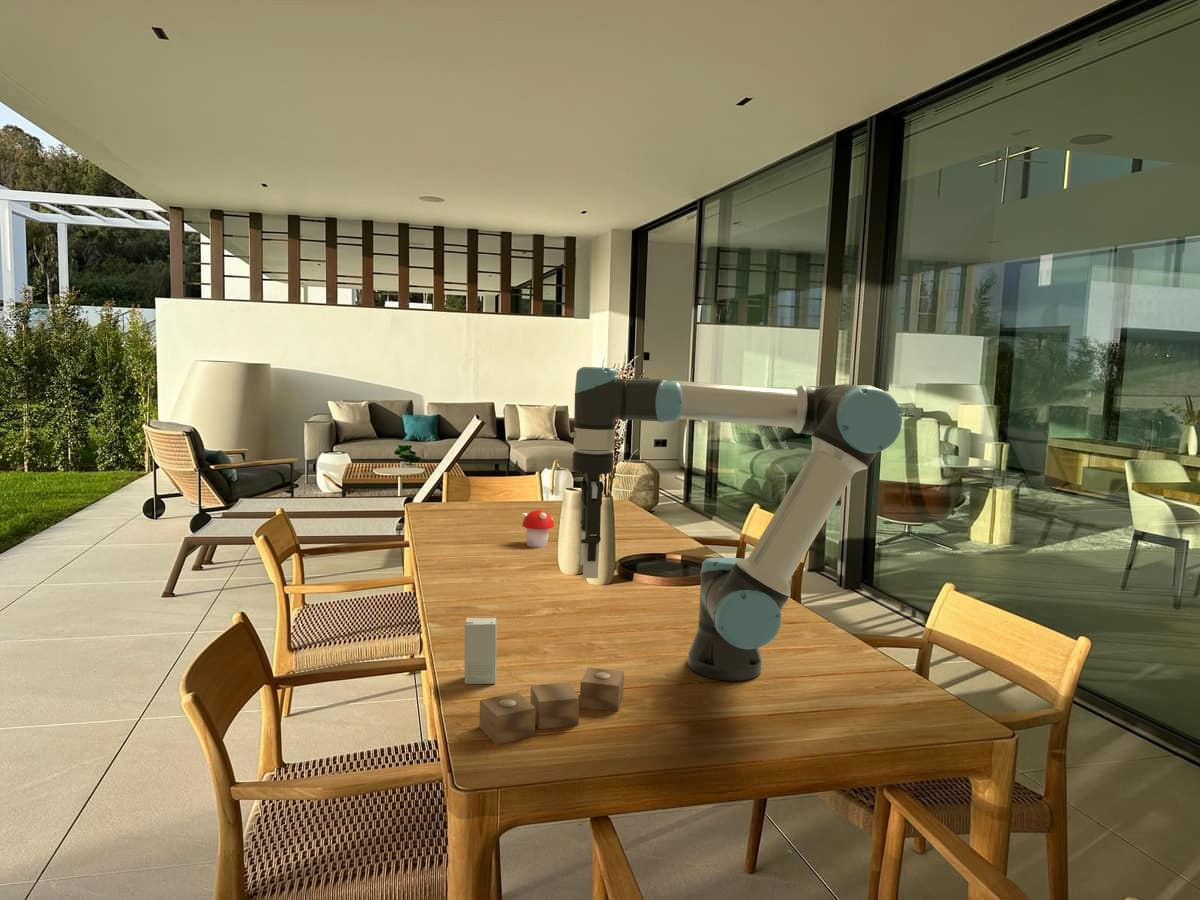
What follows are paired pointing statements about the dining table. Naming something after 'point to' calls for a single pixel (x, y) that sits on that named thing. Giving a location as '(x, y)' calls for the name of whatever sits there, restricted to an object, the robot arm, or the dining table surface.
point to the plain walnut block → (555, 705)
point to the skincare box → (480, 651)
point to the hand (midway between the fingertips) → (588, 570)
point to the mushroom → (537, 527)
